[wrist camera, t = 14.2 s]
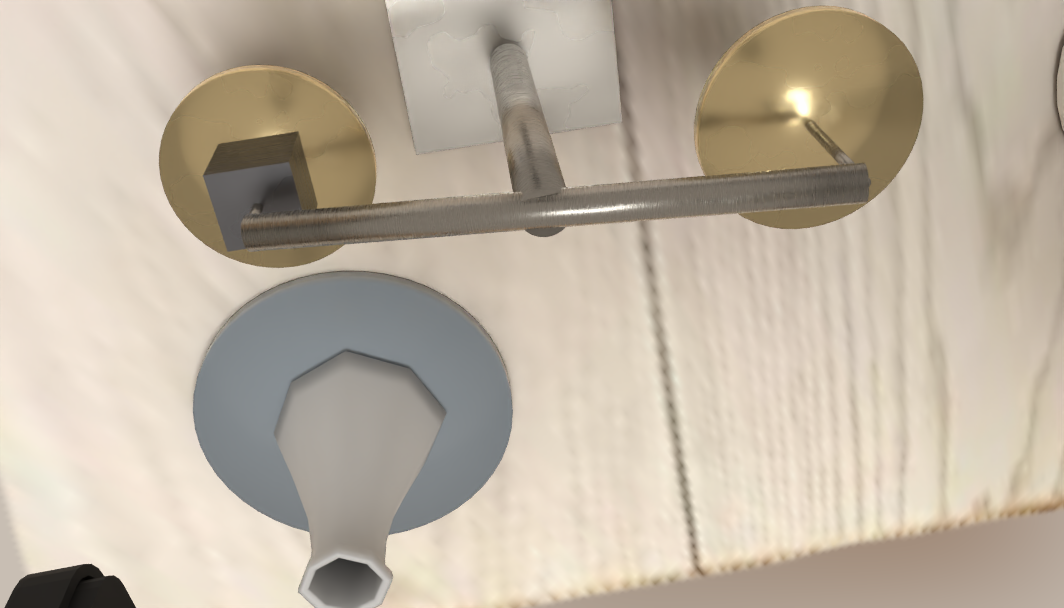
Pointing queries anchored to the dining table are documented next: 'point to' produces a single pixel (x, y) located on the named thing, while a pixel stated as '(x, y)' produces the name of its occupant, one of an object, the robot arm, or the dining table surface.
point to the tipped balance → (541, 131)
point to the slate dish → (365, 329)
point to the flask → (354, 468)
